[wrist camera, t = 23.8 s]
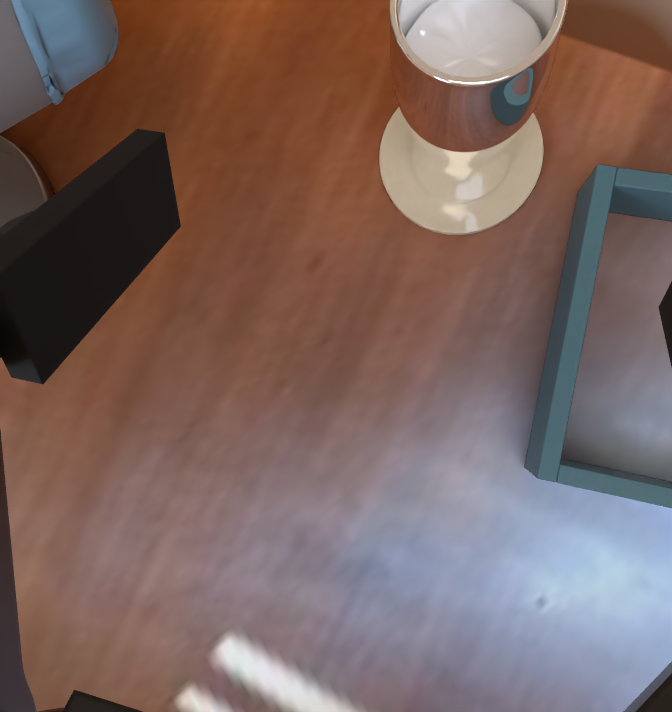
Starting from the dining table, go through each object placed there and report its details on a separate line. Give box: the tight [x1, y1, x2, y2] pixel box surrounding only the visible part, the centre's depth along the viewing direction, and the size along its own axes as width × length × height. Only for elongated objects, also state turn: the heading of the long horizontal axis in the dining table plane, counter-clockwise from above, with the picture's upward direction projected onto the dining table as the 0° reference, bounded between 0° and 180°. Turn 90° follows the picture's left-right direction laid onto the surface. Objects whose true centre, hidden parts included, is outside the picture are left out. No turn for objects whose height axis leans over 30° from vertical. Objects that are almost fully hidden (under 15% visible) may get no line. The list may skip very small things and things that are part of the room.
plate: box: [379, 107, 544, 235], centre depth 37 cm, size 10×10×1 cm
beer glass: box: [389, 0, 568, 203], centre depth 30 cm, size 7×7×15 cm
